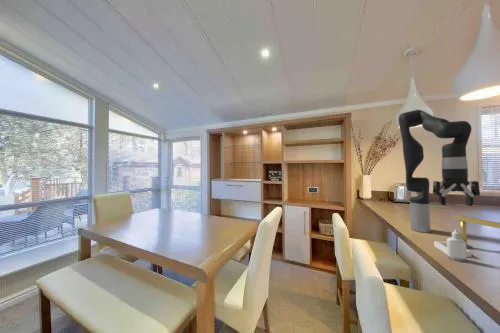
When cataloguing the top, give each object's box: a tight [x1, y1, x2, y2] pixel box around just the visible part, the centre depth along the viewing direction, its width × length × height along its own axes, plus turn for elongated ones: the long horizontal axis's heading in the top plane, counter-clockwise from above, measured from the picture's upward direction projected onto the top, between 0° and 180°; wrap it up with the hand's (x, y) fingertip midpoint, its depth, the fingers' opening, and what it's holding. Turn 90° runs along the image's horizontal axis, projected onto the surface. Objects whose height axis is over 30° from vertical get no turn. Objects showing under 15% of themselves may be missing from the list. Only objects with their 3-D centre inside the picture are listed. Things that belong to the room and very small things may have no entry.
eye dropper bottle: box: [446, 229, 468, 261], centre depth 80 cm, size 4×6×12 cm
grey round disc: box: [448, 256, 467, 263], centre depth 80 cm, size 5×5×1 cm
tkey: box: [452, 214, 500, 245], centre depth 86 cm, size 18×2×14 cm, turn 11°
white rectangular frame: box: [433, 240, 472, 258], centre depth 87 cm, size 10×8×2 cm
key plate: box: [466, 243, 474, 250], centre depth 92 cm, size 4×4×1 cm
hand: (455, 205), depth 80 cm, fingers open, 8 cm apart
